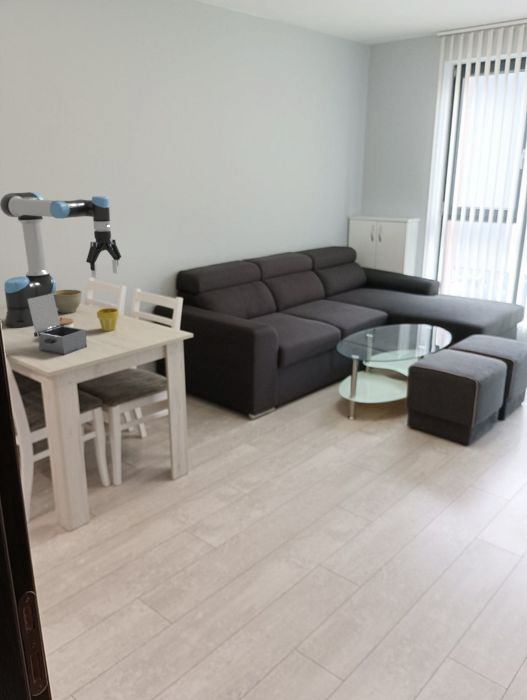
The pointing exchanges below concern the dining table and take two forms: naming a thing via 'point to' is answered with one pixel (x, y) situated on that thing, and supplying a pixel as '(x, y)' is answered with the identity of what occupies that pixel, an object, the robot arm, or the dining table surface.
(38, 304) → the lid
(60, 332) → the storage box
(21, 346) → the dining table surface
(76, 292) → the planter bowl
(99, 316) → the plant pot
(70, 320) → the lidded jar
